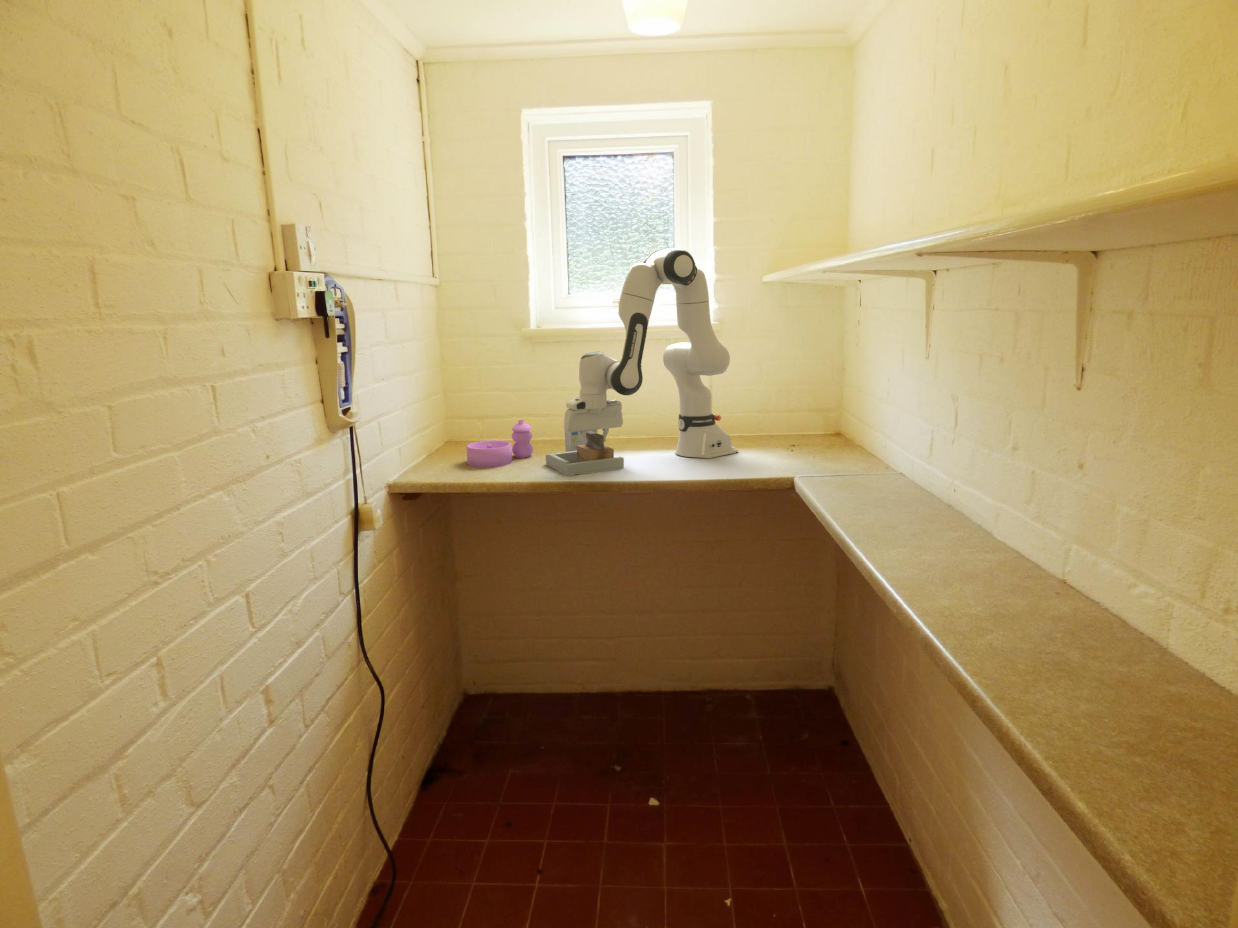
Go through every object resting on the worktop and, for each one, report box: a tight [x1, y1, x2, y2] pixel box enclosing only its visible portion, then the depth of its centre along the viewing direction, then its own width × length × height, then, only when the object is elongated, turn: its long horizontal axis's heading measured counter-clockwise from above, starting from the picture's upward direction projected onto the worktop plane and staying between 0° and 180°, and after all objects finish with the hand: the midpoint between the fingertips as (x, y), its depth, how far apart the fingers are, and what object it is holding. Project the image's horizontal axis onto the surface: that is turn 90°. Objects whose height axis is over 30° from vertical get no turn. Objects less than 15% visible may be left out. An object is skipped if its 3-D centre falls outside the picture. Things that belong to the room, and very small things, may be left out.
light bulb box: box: [563, 427, 599, 452], centre depth 258 cm, size 11×7×11 cm, turn 115°
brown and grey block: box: [576, 432, 615, 463], centre depth 241 cm, size 8×12×10 cm, turn 27°
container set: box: [465, 419, 534, 468], centre depth 251 cm, size 25×15×13 cm, turn 131°
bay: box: [545, 451, 625, 477], centre depth 240 cm, size 20×19×4 cm
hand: (594, 442), depth 241 cm, fingers open, 5 cm apart
